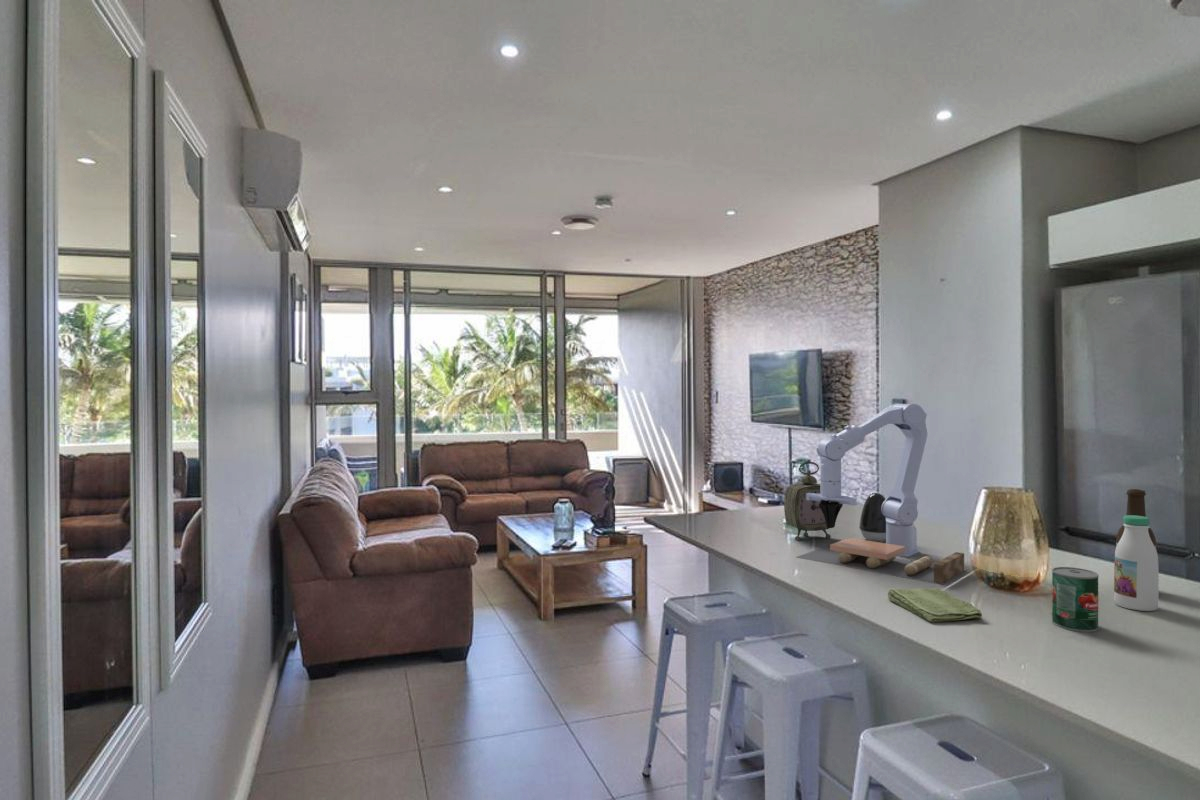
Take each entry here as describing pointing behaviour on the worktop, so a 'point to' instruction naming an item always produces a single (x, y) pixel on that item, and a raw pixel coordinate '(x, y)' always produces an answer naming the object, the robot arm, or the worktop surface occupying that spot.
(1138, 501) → the beer bottle
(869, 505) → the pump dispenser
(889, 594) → the washcloth
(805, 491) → the tabletop clock
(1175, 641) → the worktop surface
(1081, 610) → the canned tomato
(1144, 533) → the milk bottle
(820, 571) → the worktop surface
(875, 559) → the roller front
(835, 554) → the mat
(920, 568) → the roller
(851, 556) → the roller rear
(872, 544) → the slab
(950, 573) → the bar
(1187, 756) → the worktop surface
